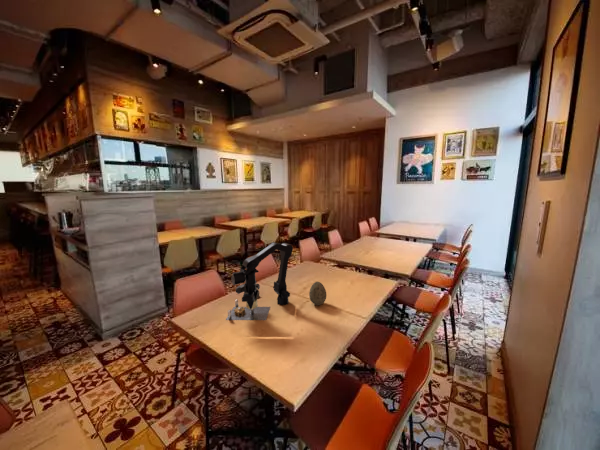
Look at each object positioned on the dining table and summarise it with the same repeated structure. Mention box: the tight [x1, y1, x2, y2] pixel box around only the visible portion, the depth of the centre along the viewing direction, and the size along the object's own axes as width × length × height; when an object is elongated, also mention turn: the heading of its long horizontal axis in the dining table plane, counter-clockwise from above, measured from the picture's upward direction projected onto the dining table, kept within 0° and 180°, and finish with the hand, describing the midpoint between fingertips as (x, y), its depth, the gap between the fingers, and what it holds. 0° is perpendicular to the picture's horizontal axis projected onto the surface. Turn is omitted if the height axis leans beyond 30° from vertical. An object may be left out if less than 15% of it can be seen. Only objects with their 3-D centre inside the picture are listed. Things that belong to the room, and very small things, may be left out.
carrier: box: [225, 298, 271, 321], centre depth 141 cm, size 23×15×6 cm, turn 87°
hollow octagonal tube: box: [245, 298, 259, 309], centre depth 141 cm, size 6×6×4 cm
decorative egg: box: [308, 281, 327, 306], centre depth 151 cm, size 11×11×15 cm
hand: (252, 305), depth 141 cm, fingers closed on hollow octagonal tube, 6 cm apart
